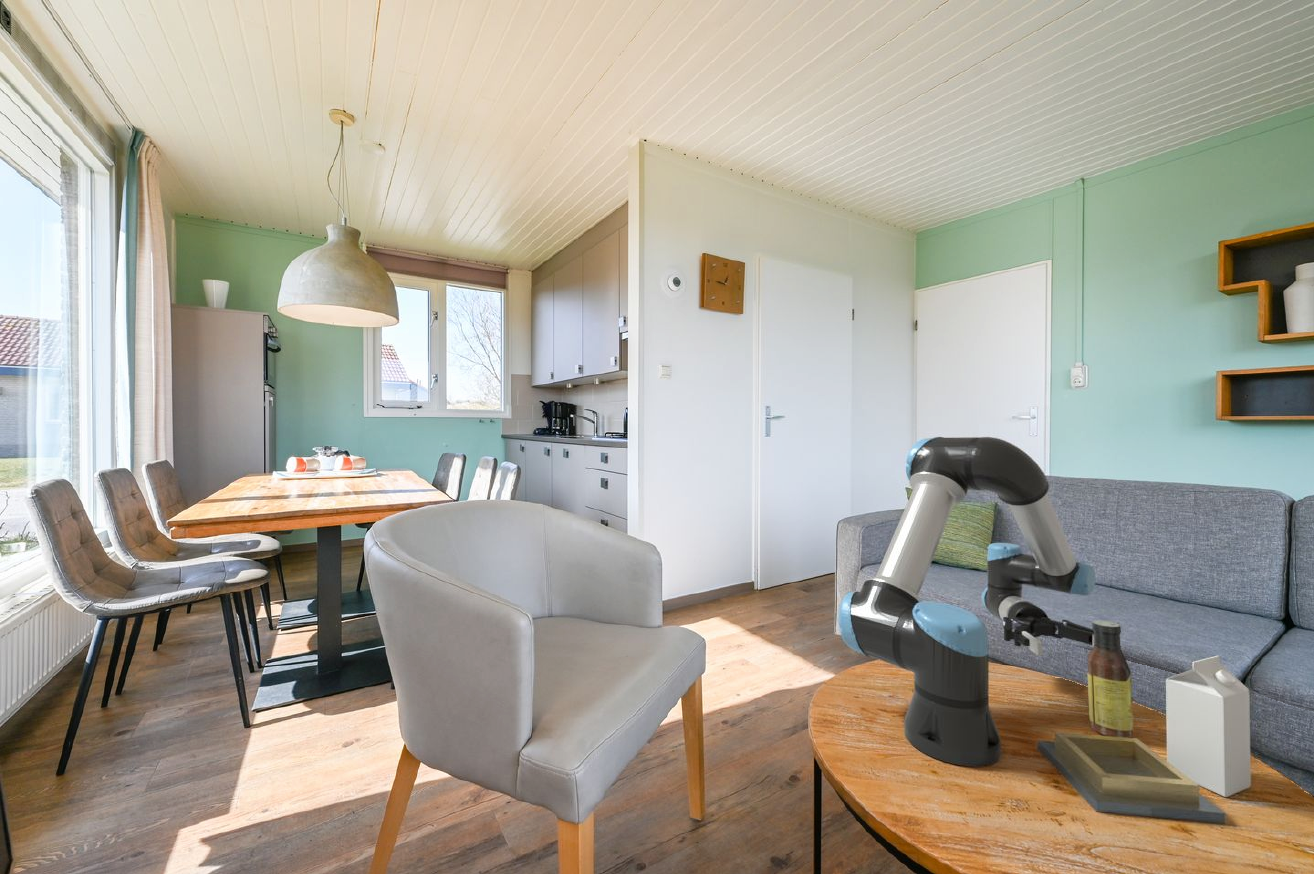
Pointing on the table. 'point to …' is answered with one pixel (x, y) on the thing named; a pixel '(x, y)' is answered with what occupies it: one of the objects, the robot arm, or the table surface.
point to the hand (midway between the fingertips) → (1077, 651)
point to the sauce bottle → (1109, 683)
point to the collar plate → (1127, 778)
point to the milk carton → (1209, 727)
